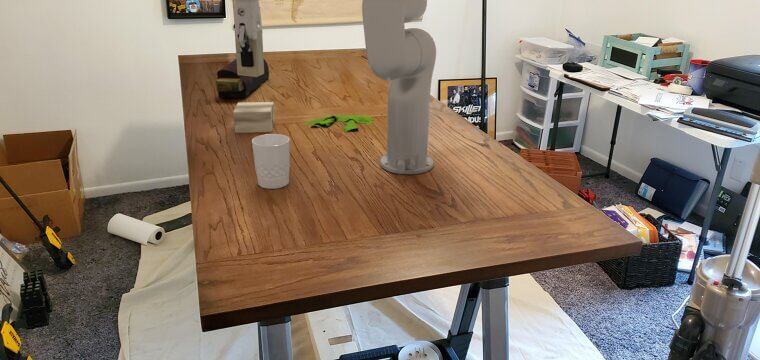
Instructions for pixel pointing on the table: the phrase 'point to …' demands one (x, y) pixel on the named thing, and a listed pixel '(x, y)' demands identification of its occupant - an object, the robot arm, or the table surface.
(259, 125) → the maple block
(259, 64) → the skincare box
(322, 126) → the cloth
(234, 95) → the packaged item
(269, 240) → the table surface
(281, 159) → the white cup
